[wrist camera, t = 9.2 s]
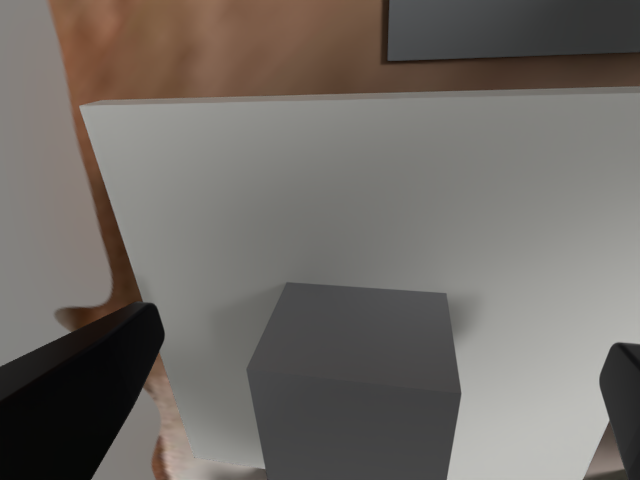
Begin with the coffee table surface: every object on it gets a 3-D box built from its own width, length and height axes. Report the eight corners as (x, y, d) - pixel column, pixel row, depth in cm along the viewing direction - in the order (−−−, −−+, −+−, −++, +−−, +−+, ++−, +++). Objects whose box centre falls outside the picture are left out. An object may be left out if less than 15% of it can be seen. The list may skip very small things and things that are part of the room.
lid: (724, 84, 7) (992, 133, 4) (556, 493, 13) (606, 645, 10) (102, 99, 10) (-55, 138, 6) (203, 438, 16) (150, 547, 12)
